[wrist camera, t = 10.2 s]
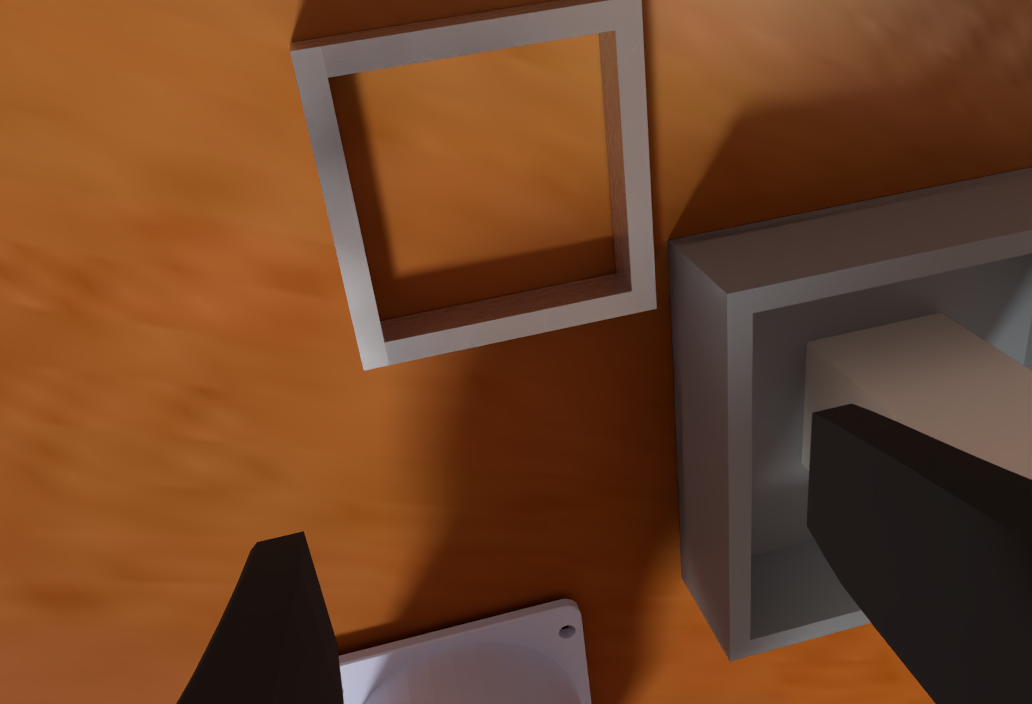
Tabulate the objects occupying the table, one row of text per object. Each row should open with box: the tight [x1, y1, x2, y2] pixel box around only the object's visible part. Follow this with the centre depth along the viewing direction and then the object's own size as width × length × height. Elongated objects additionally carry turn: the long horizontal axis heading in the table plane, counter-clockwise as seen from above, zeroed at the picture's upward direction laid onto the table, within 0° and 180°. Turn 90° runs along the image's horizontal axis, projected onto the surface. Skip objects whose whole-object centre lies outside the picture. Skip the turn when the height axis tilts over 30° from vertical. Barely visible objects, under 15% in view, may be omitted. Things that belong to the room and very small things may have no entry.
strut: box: [802, 313, 1032, 480], centre depth 22 cm, size 4×4×8 cm
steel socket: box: [290, 0, 657, 370], centre depth 20 cm, size 7×7×1 cm
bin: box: [668, 167, 1032, 661], centre depth 24 cm, size 11×11×4 cm
